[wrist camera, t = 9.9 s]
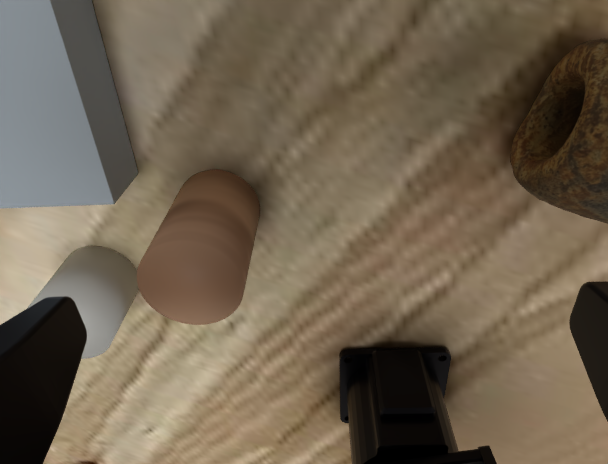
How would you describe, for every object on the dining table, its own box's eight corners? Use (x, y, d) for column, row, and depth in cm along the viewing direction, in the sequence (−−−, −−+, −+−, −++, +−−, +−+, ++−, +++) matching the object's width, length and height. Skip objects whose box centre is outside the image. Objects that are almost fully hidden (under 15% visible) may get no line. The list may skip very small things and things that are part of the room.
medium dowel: (264, 240, 23) (249, 323, 18) (186, 242, 23) (150, 325, 18) (255, 168, 21) (236, 239, 16) (170, 171, 21) (124, 242, 16)
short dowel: (147, 303, 25) (122, 357, 22) (78, 304, 26) (42, 359, 22) (129, 244, 23) (98, 294, 20) (54, 246, 23) (10, 297, 20)
